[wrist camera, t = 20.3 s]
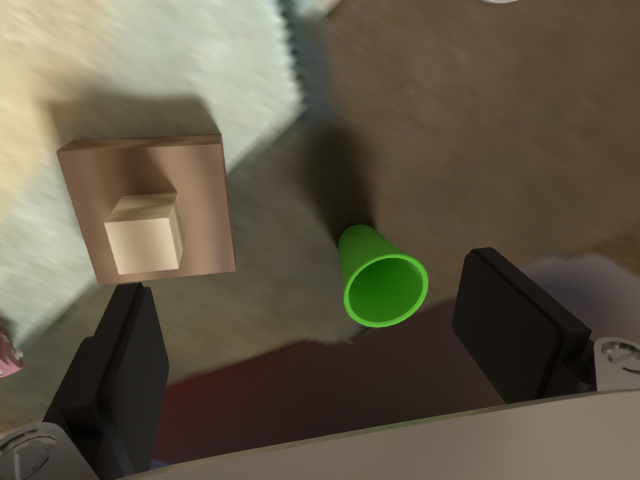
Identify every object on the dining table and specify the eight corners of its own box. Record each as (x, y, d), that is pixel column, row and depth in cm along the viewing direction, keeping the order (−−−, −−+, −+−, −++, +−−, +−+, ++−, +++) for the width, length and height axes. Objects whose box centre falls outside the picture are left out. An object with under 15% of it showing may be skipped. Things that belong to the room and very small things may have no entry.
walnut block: (221, 134, 40) (220, 144, 36) (235, 253, 46) (235, 271, 43) (72, 140, 38) (56, 151, 34) (109, 265, 44) (98, 284, 41)
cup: (307, 240, 48) (325, 292, 38) (367, 194, 46) (401, 236, 37) (348, 284, 52) (374, 341, 42) (404, 243, 50) (444, 292, 41)
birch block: (177, 192, 38) (168, 217, 33) (186, 238, 40) (178, 268, 35) (122, 196, 37) (104, 222, 32) (134, 242, 39) (118, 274, 34)
